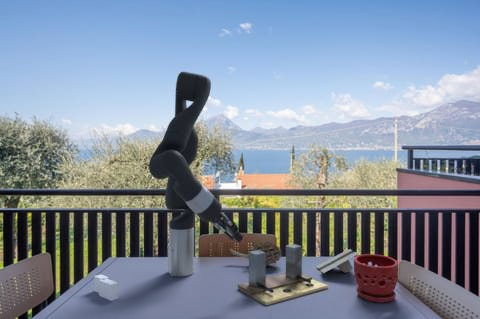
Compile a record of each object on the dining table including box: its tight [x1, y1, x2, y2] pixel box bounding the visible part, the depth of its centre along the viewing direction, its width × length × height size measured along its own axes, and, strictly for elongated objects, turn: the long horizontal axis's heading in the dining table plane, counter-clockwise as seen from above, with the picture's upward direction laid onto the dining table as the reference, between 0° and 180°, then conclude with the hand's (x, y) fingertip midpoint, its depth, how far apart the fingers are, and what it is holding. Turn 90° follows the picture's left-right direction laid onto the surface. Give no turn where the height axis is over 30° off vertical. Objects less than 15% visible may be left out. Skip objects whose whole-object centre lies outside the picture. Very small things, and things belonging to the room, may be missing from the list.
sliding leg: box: [248, 250, 274, 293], centre depth 114 cm, size 4×10×11 cm, turn 33°
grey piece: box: [316, 248, 360, 274], centre depth 134 cm, size 16×9×15 cm
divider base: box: [237, 243, 313, 298], centre depth 119 cm, size 26×12×12 cm, turn 123°
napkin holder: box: [93, 274, 119, 301], centre depth 113 cm, size 15×11×6 cm
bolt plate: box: [252, 278, 329, 307], centre depth 114 cm, size 26×7×1 cm, turn 123°
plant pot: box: [353, 253, 399, 303], centre depth 111 cm, size 13×13×12 cm
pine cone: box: [229, 240, 282, 266], centre depth 144 cm, size 22×10×10 cm, turn 80°
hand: (236, 238), depth 112 cm, fingers open, 3 cm apart
